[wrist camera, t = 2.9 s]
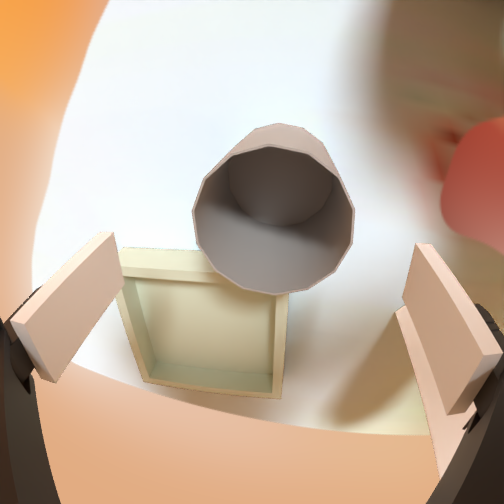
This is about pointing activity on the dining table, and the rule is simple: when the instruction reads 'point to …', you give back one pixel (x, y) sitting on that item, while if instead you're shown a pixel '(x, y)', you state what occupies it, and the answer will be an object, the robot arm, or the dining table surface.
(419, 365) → the milk
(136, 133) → the dining table surface
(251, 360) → the bin
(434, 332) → the robot arm
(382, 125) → the dining table surface
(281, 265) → the cup
